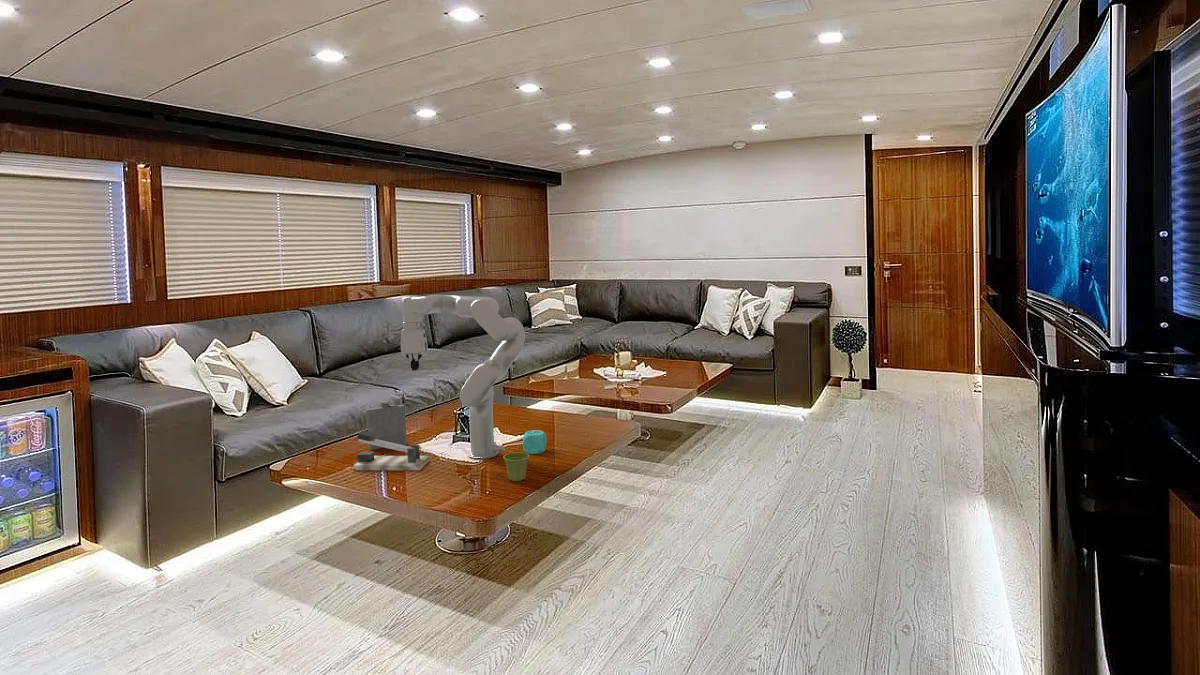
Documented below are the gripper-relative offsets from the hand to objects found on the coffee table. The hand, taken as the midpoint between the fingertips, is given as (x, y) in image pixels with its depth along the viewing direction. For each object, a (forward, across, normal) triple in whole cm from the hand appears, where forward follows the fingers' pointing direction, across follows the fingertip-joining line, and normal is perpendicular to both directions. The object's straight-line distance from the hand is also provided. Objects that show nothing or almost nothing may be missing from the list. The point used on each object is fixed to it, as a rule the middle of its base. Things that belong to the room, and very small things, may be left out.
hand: (415, 369), depth 276 cm
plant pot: (+35, -48, +33) cm, 68 cm away
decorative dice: (+35, -49, -1) cm, 60 cm away
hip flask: (+35, +17, -8) cm, 40 cm away
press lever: (+27, +7, +18) cm, 33 cm away
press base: (+35, +5, +18) cm, 40 cm away
